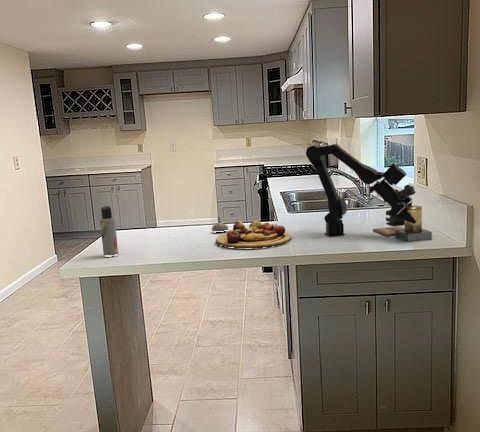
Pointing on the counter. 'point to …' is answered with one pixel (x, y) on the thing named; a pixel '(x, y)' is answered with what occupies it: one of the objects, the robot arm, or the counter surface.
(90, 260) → the counter surface
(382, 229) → the walnut board
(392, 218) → the end cap
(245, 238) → the wooden plate with food
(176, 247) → the counter surface
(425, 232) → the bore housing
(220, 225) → the garlic bulb
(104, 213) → the lotion bottle
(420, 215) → the end plug
